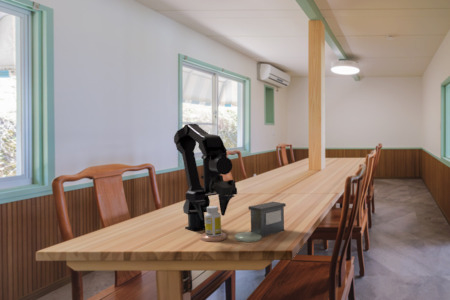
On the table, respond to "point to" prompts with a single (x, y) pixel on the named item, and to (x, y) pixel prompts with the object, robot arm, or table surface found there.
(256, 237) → the sage coaster
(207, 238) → the peach domed disc
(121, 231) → the table surface
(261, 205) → the box unit
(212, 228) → the supplement bottle
